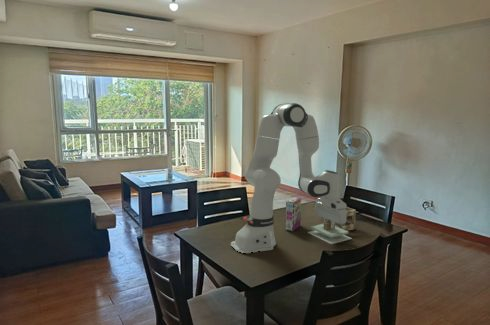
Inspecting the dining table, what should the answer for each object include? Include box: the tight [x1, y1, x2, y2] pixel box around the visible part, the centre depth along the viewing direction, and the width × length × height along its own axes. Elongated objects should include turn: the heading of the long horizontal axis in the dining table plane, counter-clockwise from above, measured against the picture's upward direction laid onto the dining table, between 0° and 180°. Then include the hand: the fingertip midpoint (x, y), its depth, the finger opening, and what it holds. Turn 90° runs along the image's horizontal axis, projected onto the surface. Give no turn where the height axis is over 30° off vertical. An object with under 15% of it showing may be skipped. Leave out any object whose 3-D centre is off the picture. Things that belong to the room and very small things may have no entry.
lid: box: [310, 222, 349, 238], centre depth 174 cm, size 12×16×6 cm
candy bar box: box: [284, 196, 302, 232], centre depth 186 cm, size 11×5×16 cm, turn 149°
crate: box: [321, 206, 357, 232], centre depth 188 cm, size 11×15×11 cm
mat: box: [307, 230, 352, 245], centre depth 175 cm, size 14×18×1 cm
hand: (329, 227), depth 174 cm, fingers closed on lid
